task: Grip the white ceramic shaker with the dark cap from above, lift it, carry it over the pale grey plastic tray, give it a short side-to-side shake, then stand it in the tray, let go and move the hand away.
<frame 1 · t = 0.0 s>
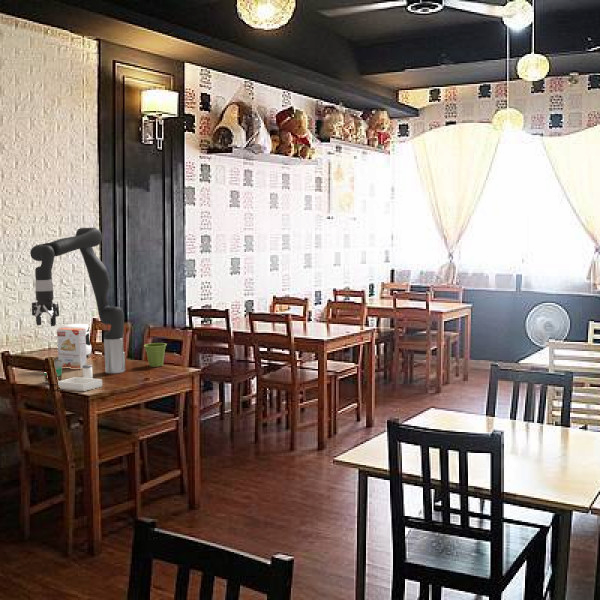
hand: (46, 325, 350), 29 cm above the table, tool pointing down, fingers open, 8 cm apart
plant pot: (156, 366, 408), on the table
cracker box: (72, 368, 406), on the table
tray: (79, 388, 355), on the table
milk container: (76, 357, 440), on the table
shaker: (88, 382, 369), on the table
food container: (56, 382, 370), on the table
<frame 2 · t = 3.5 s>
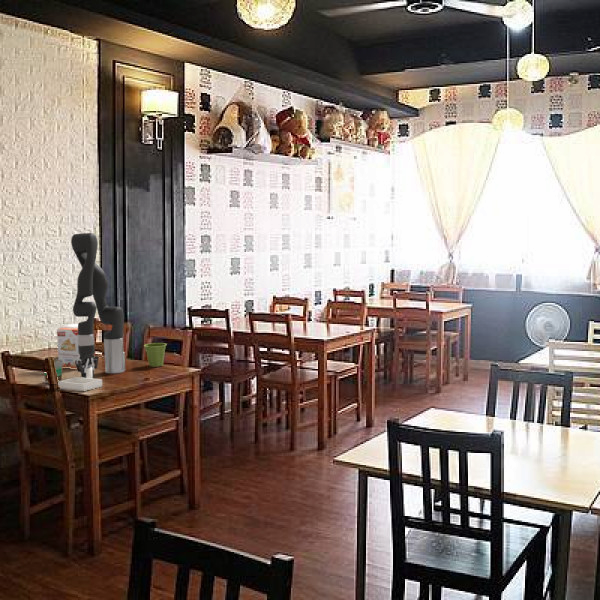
hand: (87, 379, 368), 1 cm above the table, tool pointing down, fingers closed on shaker, 4 cm apart
shaker: (88, 382, 369), on the table, touching gripper
everything else where it was.
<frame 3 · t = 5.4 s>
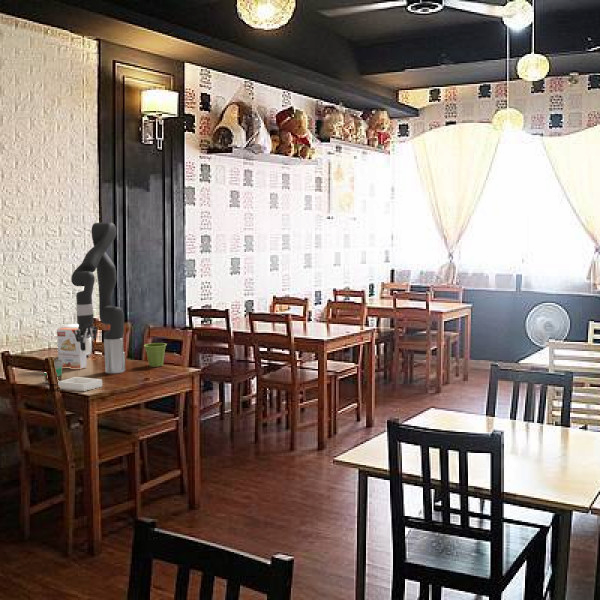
hand: (86, 349, 367), 16 cm above the table, tool pointing down, fingers closed on shaker, 4 cm apart
shaker: (87, 352, 367), point 14 cm above the table, touching gripper
everything else where it was.
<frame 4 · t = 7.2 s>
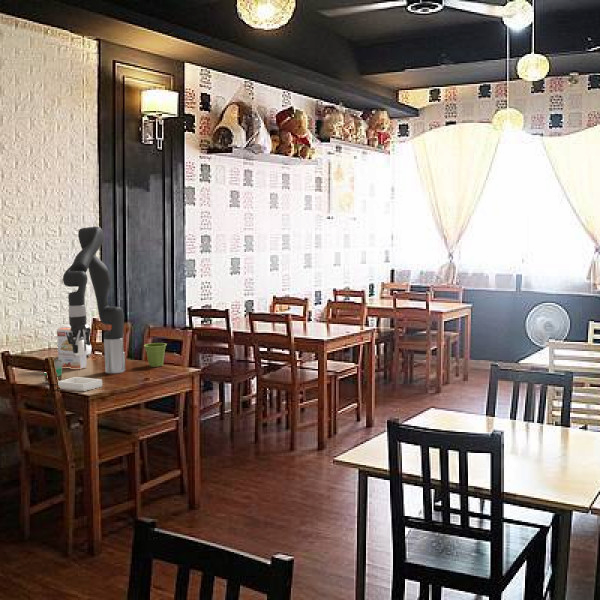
hand: (79, 351, 354), 17 cm above the table, tool pointing down, fingers closed on shaker, 4 cm apart
shaker: (79, 354, 355), point 15 cm above the table, touching gripper
everything else where it was.
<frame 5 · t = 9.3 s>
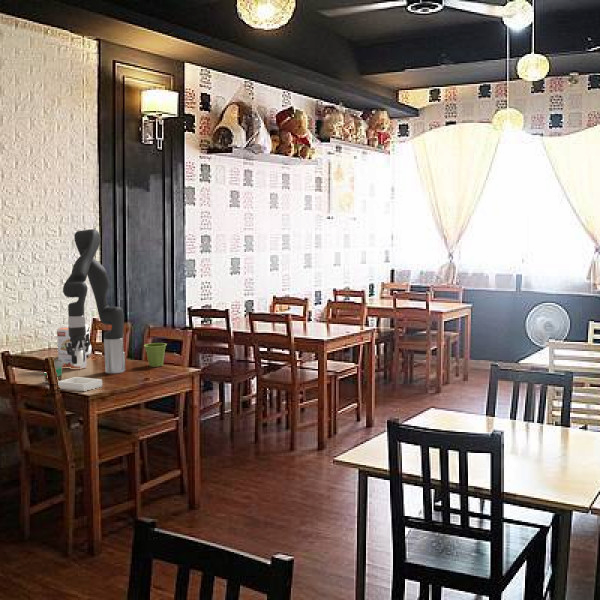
hand: (78, 362, 354), 12 cm above the table, tool pointing down, fingers closed on shaker, 4 cm apart
shaker: (78, 365, 354), point 10 cm above the table, touching gripper
everything else where it was.
when the fingers open (4 cm above the table, at t = 11.1 s): shaker drops 1 cm, resting on tray.
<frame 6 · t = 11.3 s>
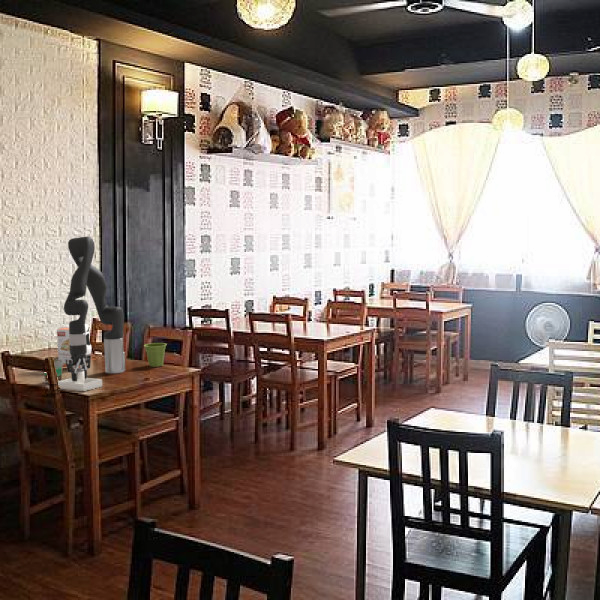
hand: (79, 379, 355), 4 cm above the table, tool pointing down, fingers open, 6 cm apart
shaker: (79, 386, 355), point 1 cm above the table, touching tray
everything else where it was.
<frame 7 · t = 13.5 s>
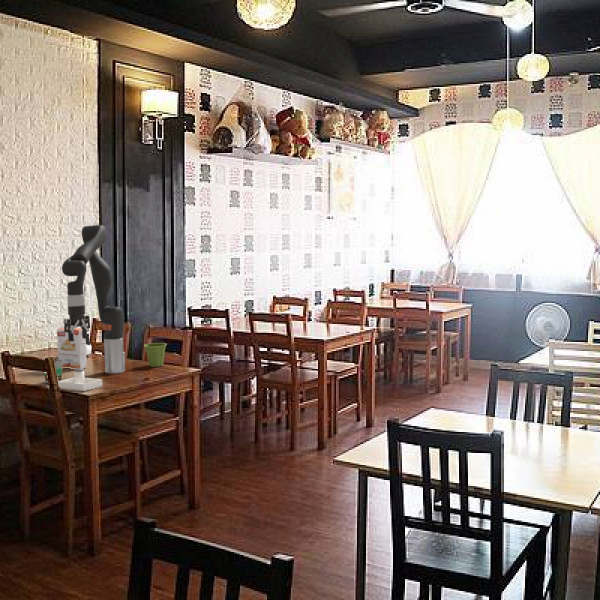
hand: (78, 339, 354), 22 cm above the table, tool pointing down, fingers open, 8 cm apart
nothing on the table moved.
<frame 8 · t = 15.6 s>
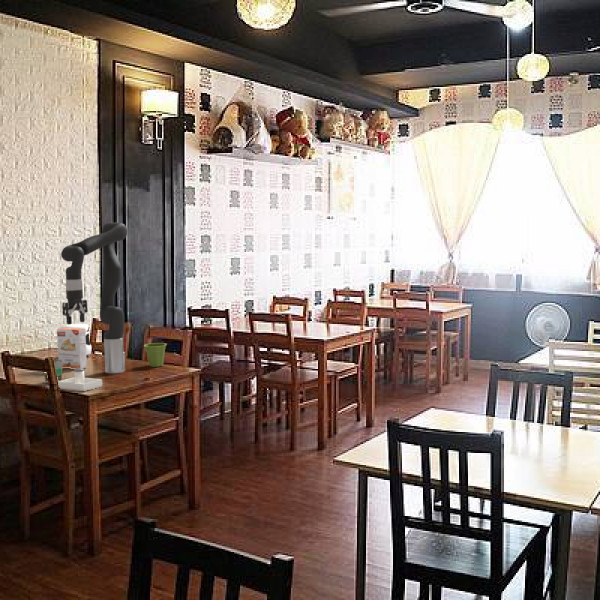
hand: (75, 323, 367), 28 cm above the table, tool pointing down, fingers open, 8 cm apart
nothing on the table moved.
at the end: shaker 0.2 cm off-centre on the tray, point 0.8 cm above the tray's base; shaker tilted 1°; the gripper is holding nothing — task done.
